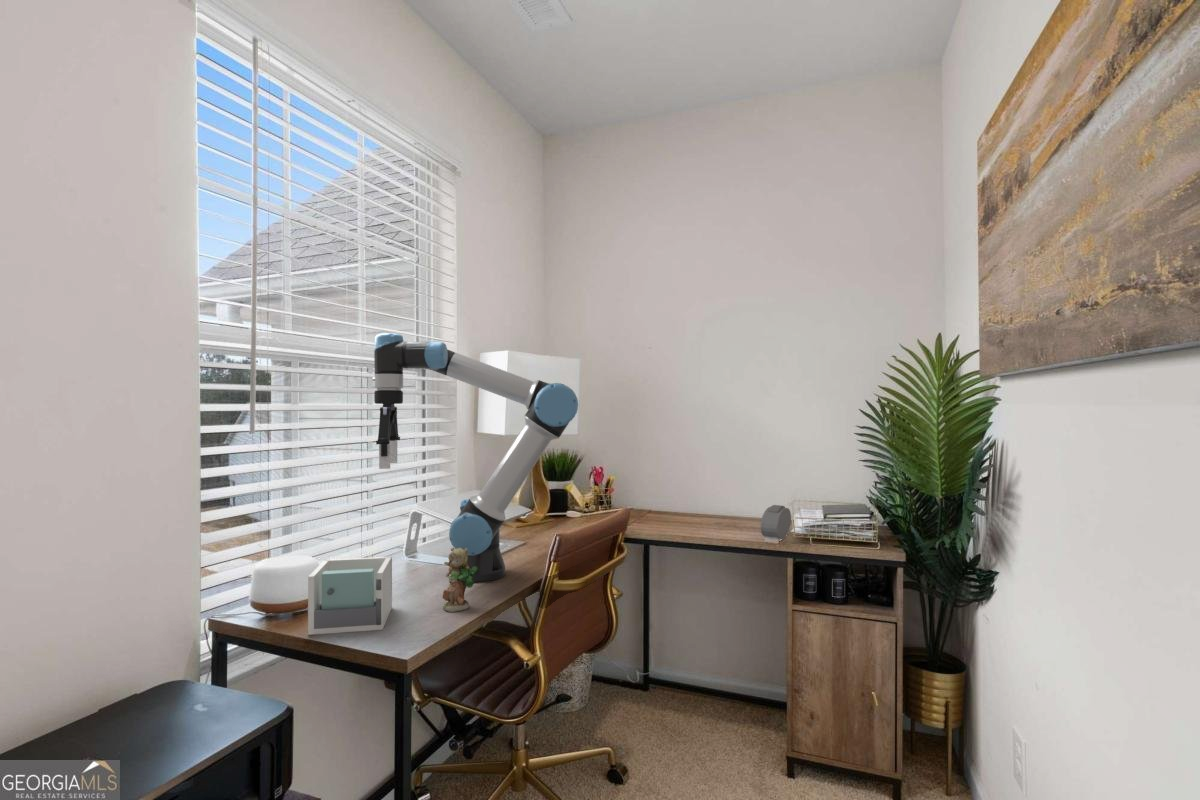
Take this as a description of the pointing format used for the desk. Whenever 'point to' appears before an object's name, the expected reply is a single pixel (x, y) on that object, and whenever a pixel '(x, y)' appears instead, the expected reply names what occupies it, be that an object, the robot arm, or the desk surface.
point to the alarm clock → (775, 523)
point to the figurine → (458, 580)
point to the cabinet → (350, 617)
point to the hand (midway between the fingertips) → (388, 465)
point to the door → (347, 589)
